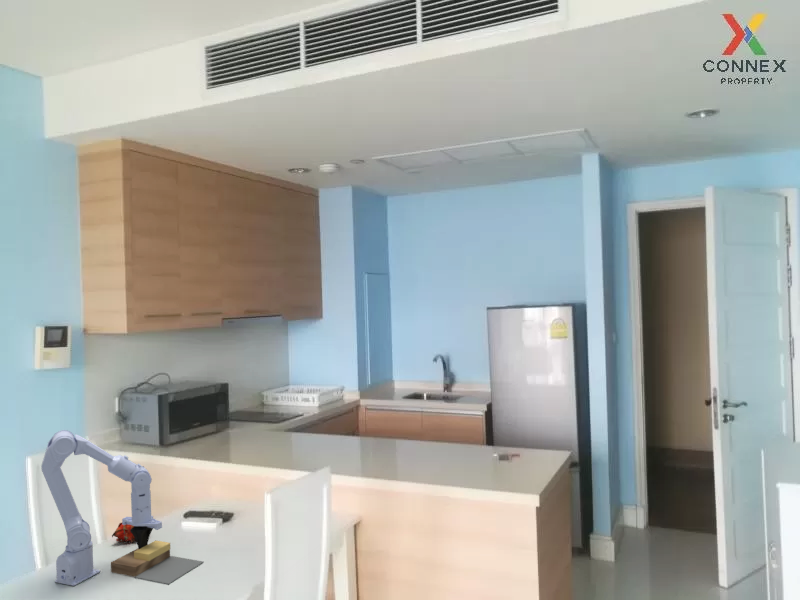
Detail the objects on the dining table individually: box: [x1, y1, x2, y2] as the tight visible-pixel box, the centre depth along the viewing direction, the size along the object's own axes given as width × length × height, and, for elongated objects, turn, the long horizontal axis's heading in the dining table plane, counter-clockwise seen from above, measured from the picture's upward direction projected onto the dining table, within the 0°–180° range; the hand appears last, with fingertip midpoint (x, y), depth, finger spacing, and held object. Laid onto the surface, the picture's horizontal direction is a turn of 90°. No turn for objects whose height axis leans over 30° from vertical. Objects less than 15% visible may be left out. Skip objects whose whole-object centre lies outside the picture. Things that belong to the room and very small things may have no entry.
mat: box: [134, 555, 205, 586], centre depth 183 cm, size 15×13×1 cm
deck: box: [110, 543, 171, 578], centre depth 187 cm, size 14×10×3 cm
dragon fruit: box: [111, 522, 136, 543], centre depth 206 cm, size 8×8×12 cm
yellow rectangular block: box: [134, 540, 171, 561], centre depth 188 cm, size 9×6×2 cm, turn 158°
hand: (142, 549), depth 190 cm, fingers closed
